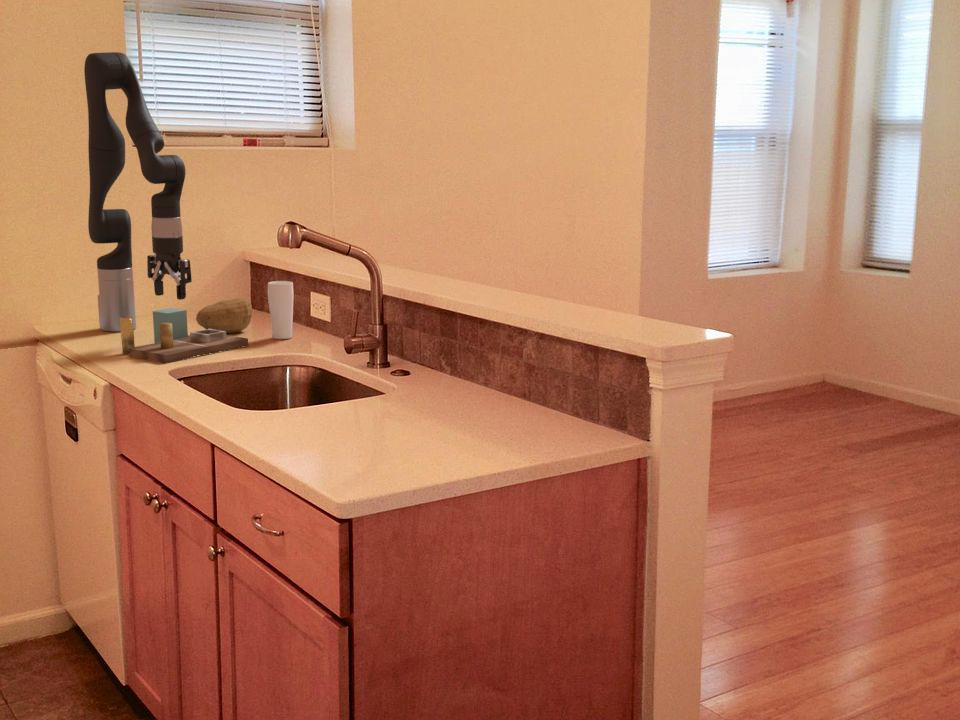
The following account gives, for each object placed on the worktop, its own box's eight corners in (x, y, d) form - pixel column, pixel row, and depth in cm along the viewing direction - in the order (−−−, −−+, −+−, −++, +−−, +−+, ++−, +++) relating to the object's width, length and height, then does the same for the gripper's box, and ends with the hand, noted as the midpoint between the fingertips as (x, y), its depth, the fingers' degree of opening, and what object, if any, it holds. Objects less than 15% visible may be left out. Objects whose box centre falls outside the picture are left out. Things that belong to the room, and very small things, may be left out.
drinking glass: (298, 336, 292) (296, 281, 289) (291, 340, 285) (289, 284, 282) (273, 335, 293) (271, 280, 289) (266, 340, 286) (264, 284, 283)
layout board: (129, 356, 266) (127, 324, 264) (212, 339, 286) (210, 310, 284) (166, 363, 258) (164, 330, 256) (248, 346, 278) (247, 315, 276)
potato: (193, 332, 296) (191, 299, 294) (249, 328, 303) (247, 295, 301) (200, 338, 289) (198, 303, 287) (257, 333, 296) (256, 299, 294)
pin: (119, 353, 268) (117, 318, 267) (130, 351, 271) (127, 316, 269) (127, 355, 267) (125, 319, 265) (137, 353, 269) (135, 317, 267)
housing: (154, 344, 280) (152, 311, 278) (173, 340, 285) (171, 308, 283) (169, 347, 276) (167, 313, 275) (188, 343, 281) (186, 310, 279)
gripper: (137, 233, 276) (140, 296, 279) (173, 238, 268) (177, 302, 272) (160, 231, 282) (163, 292, 285) (197, 235, 274) (200, 298, 278)
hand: (170, 297), depth 279 cm, fingers open, 8 cm apart
